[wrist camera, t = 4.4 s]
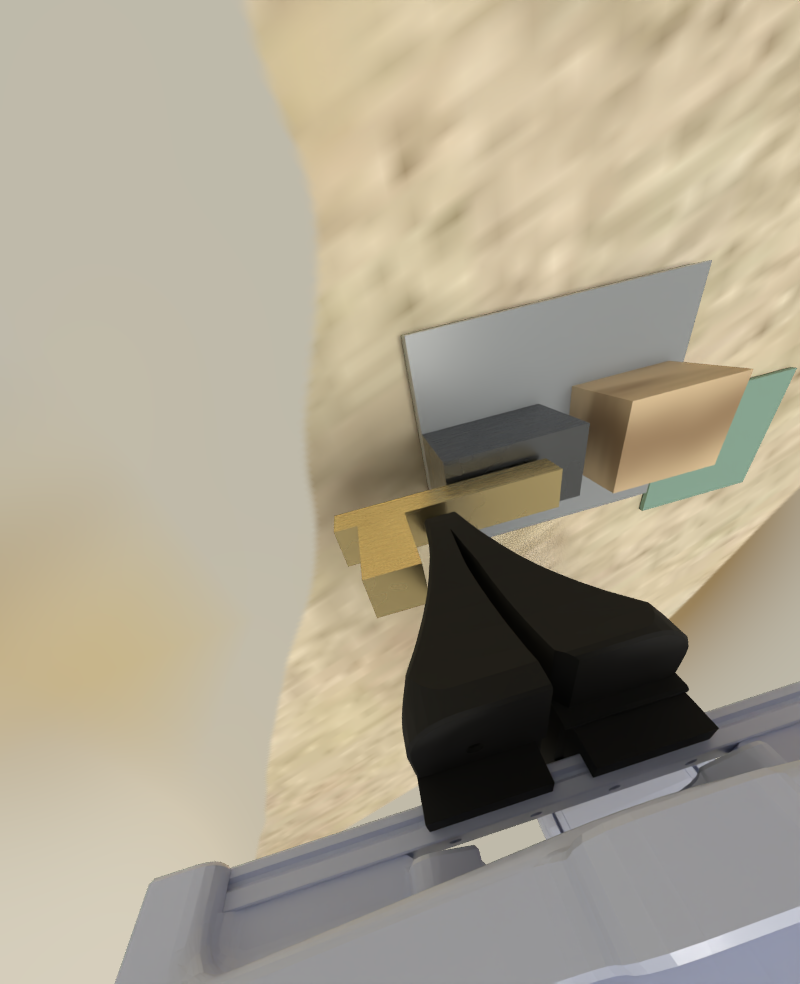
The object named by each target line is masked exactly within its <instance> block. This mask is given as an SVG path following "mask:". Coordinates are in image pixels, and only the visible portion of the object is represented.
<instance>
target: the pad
mask: <svg viewBox="0 0 800 984" xmlns="http://www.w3.org/2000/svg"><path fill="white" fill-rule="evenodd" d="M796 369H797V368H793V367H790V368H787V369H783V370H779V371H776V372H772V373H768V374H764V375H761V376H757V377H753V378H750V379H749V381H748V384H747V386H746V389H745V391H744V393H743V396H742V398H741V401H740V403H739V406H738V408H737V411H736V413H735V416H734V418H733V421H732V423H731V426H730V428H729V430H728V433H727V435H726V438H725V440H724V443H723V445H722V448H721V450H720V453H719V455H718V458H717V460H716V463H715V465H712V466H708V467H705V468H701V469H698V470H694V471H691V472H687V473H684V474H680V475H677V476H673V477H670V478H666V479H663V480H659V481H656V482H652V483H649V485H648V488H647V492H646V493H644V494H643V497H642V501H641V504H640V508H639V509H640V510H642V511H643V510H647V509H650V508H654V507H657V506H661V505H664V504H668V503H671V502H675V501H678V500H682V499H685V498H689V497H692V496H696V495H699V494H702V493H706V492H709V491H713V490H716V489H720V488H723V487H727V486H730V485H734V484H737V483H741V482H743V480H744V478H745V476H746V474H747V471H748V469H749V467H750V465H751V463H752V461H753V459H754V457H755V455H756V453H757V451H758V448H759V446H760V444H761V442H762V440H763V438H764V436H765V434H766V432H767V430H768V428H769V425H770V423H771V421H772V419H773V417H774V415H775V413H776V411H777V409H778V407H779V405H780V402H781V400H782V398H783V396H784V394H785V392H786V390H787V388H788V386H789V384H790V381H791V379H792V377H793V375H794V373H795V371H796Z"/></svg>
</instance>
